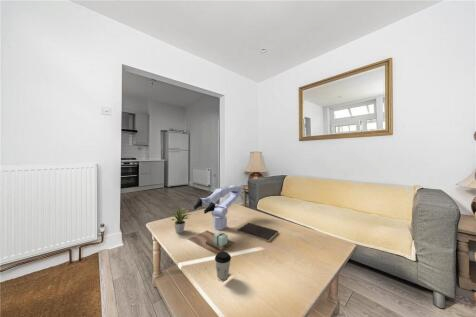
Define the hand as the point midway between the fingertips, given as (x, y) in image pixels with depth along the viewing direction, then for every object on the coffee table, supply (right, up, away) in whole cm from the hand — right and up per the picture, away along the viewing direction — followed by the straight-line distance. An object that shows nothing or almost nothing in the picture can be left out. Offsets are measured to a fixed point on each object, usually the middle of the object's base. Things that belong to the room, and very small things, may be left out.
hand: (199, 210), depth 101 cm
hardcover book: (+37, -21, +15) cm, 45 cm away
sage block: (+13, -19, -5) cm, 23 cm away
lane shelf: (+7, -20, 0) cm, 21 cm away
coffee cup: (+17, -21, -29) cm, 39 cm away
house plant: (-17, -19, +13) cm, 29 cm away
